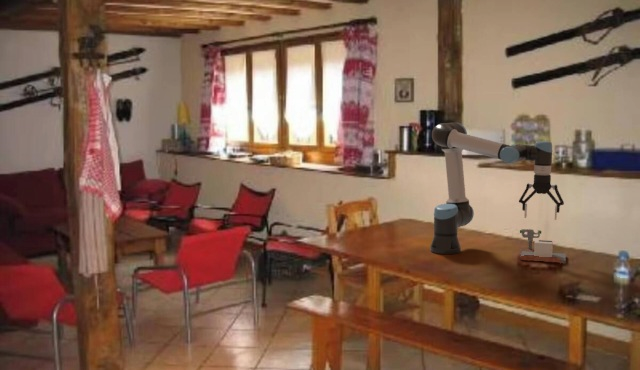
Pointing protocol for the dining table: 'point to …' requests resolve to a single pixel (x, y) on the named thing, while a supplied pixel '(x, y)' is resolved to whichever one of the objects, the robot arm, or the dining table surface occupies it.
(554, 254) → the board
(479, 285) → the dining table surface
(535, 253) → the cream slotted box
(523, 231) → the mechanical component
